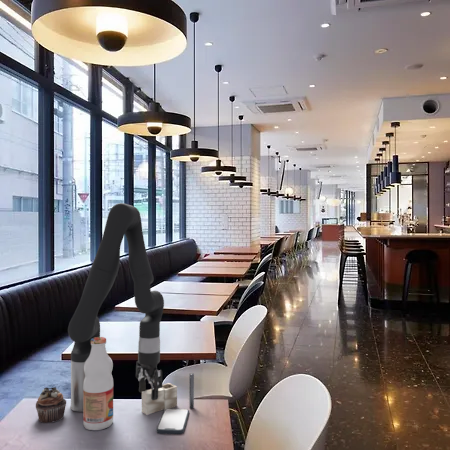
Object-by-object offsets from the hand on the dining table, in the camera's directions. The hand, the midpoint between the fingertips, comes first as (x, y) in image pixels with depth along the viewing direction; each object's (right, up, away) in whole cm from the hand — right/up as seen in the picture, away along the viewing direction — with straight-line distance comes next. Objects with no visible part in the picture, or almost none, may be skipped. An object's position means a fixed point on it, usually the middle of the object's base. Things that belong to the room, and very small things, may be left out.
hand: (148, 395), depth 147 cm
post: (+15, -6, +4) cm, 16 cm away
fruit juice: (-15, -6, -9) cm, 18 cm away
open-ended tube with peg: (+3, -6, +3) cm, 7 cm away
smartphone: (+10, -7, -7) cm, 14 cm away
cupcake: (-32, -6, -4) cm, 33 cm away
